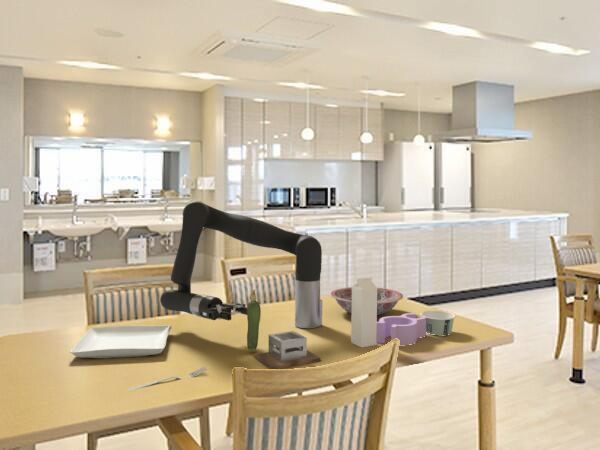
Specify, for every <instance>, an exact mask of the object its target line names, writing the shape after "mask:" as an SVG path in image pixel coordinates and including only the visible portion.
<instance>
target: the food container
mask: <svg viewBox="0 0 600 450" xmlns="http://www.w3.org/2000/svg"><path fill="white" fill-rule="evenodd" d="M422 315H424V316H426V332H427V333H430V334H435V335H448V334H451V335H452V330H453V326H454V322H455V321H454V320H455V318H456V316H457V315H455V314H454V313H452V312H449V311H444V310H423V311H422V312H420V317H421V316H422Z"/></svg>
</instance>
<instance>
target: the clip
mask: <svg viewBox="0 0 600 450" xmlns="http://www.w3.org/2000/svg"><path fill="white" fill-rule="evenodd" d="M425 335H427V334H426V316H424V315H422V316H421V315H420V317H417V313H414V312H413V313H412V312H410V313H409V312H408V313H407V312H406V313H402V314H401V315H389V316H388V315H387V316H383V317H380V318H379V320H378V321H377V331H376V344H384V343H386V338H389V337H388V336H391V337H390V338H391V340H393V339H395V338H398V339H399V340H400V345H409V344H414V343H416V341H417V340H418V339H417V338H420V337H424V336H425ZM391 340H390V341H391ZM416 344H417V343H416ZM414 345H415V344H414Z"/></svg>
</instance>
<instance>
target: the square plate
mask: <svg viewBox="0 0 600 450" xmlns="http://www.w3.org/2000/svg"><path fill="white" fill-rule="evenodd" d="M172 327H173V326H172V325H170V324H168V325H166V324H163V325H159V324H158V325H152V324H151V325H146V324H145V325H144V324H143V325H115V326H113V325H112V326H97V327H90V328H89V329H87V331H86V332H85V333H84V335H83V336H82V337H81V338H80V339H79V340H78V341H77V342H76V344H75V345H74V346H73V347H72V349H71V350H70V351H69V353H71V354H72V355H73V356H74V357H78V358H84V359H85V358H89V359H90V358H91V359H105V358H106V359H107V358H110V359H111V358H127V357H128V358H129V357H131V358H132V357H146V356H151V355H153V356H154V355H159V354H160V353H162V352H163V351H164V350H165V348H166V344H167V341H168V340H167V339H168V336H169V334H170V332H171V329H172Z"/></svg>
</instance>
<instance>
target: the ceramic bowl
mask: <svg viewBox="0 0 600 450" xmlns="http://www.w3.org/2000/svg"><path fill="white" fill-rule="evenodd" d="M330 296H331V298H333V299H335V301H336V303H337V304H338V305H339V307H341V309H343V310H344V311H346V312H348V313H350V314H352V286H350V287H349V286H348V287H343V288H337V289H335V290H332V291H331V292H330ZM403 298H404V294H402V292H399V291H397V290H394V289H389V288H385V287H384V288H383V287H377V316H378V315H383V314H386V313H388V312H390V311H391V310H392V309H394V308H395V306H396V305H397V304H398V302H399V301H400V300H403Z"/></svg>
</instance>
